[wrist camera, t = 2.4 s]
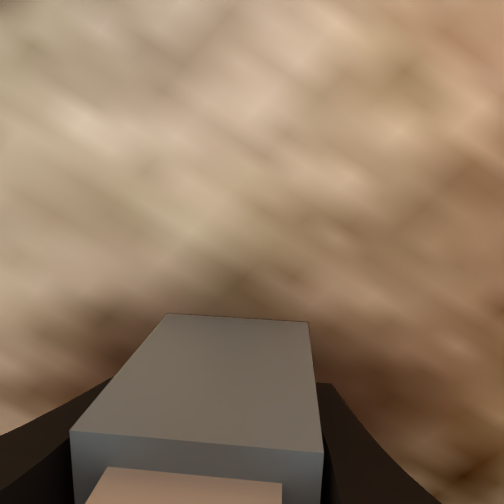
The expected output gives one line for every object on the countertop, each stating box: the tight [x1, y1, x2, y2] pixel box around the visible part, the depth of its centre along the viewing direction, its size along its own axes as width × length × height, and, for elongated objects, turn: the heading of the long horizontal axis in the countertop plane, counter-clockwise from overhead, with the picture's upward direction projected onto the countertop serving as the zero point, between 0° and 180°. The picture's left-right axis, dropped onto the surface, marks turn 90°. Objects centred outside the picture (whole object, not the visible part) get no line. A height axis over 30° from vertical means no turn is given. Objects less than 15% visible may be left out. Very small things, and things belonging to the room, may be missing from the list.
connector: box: [69, 313, 324, 504], centre depth 9 cm, size 4×4×6 cm
